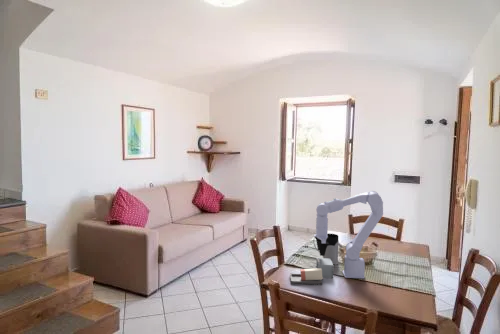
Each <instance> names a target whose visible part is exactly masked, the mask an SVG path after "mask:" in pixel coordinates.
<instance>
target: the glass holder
mask: <svg viewBox="0 0 500 334" xmlns="http://www.w3.org/2000/svg"><path fill="white" fill-rule="evenodd" d="M327 235H328V238H327V239H326V242H328V243H329V245H328V246H327V248H326V252H325V255H324V256H322V258H330V259H331V261H332V263H333V264H335V265H339V235H338V234H335V233H327ZM312 242H313V246H314V248H315V250H316V251H317V252H318V253H319V254H320V252H319V250H318V248H317V247H316V246H317V245H316V244H315V237H314V236H313V241H312Z"/></svg>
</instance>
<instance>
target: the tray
mask: <svg viewBox="0 0 500 334" xmlns="http://www.w3.org/2000/svg"><path fill="white" fill-rule="evenodd" d="M289 277H290V285H302V286H303V285H304V286H305V285H306V286H322V283H323V282H322V279H319V280H301V273H293V272H291V273H290V274H289Z"/></svg>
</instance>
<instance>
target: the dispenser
mask: <svg viewBox="0 0 500 334" xmlns="http://www.w3.org/2000/svg"><path fill="white" fill-rule="evenodd" d="M315 266H316V268H321V269H322V277H323V278H325V279H334V265H333V263H332V261H331V259H330V258H323V257H316V265H315Z"/></svg>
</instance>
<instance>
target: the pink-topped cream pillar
mask: <svg viewBox="0 0 500 334" xmlns="http://www.w3.org/2000/svg"><path fill="white" fill-rule="evenodd" d="M300 274H301V280H319V279H321V280H323V277H322V269H321V268H315V267H314V268H301V269H300Z"/></svg>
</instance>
